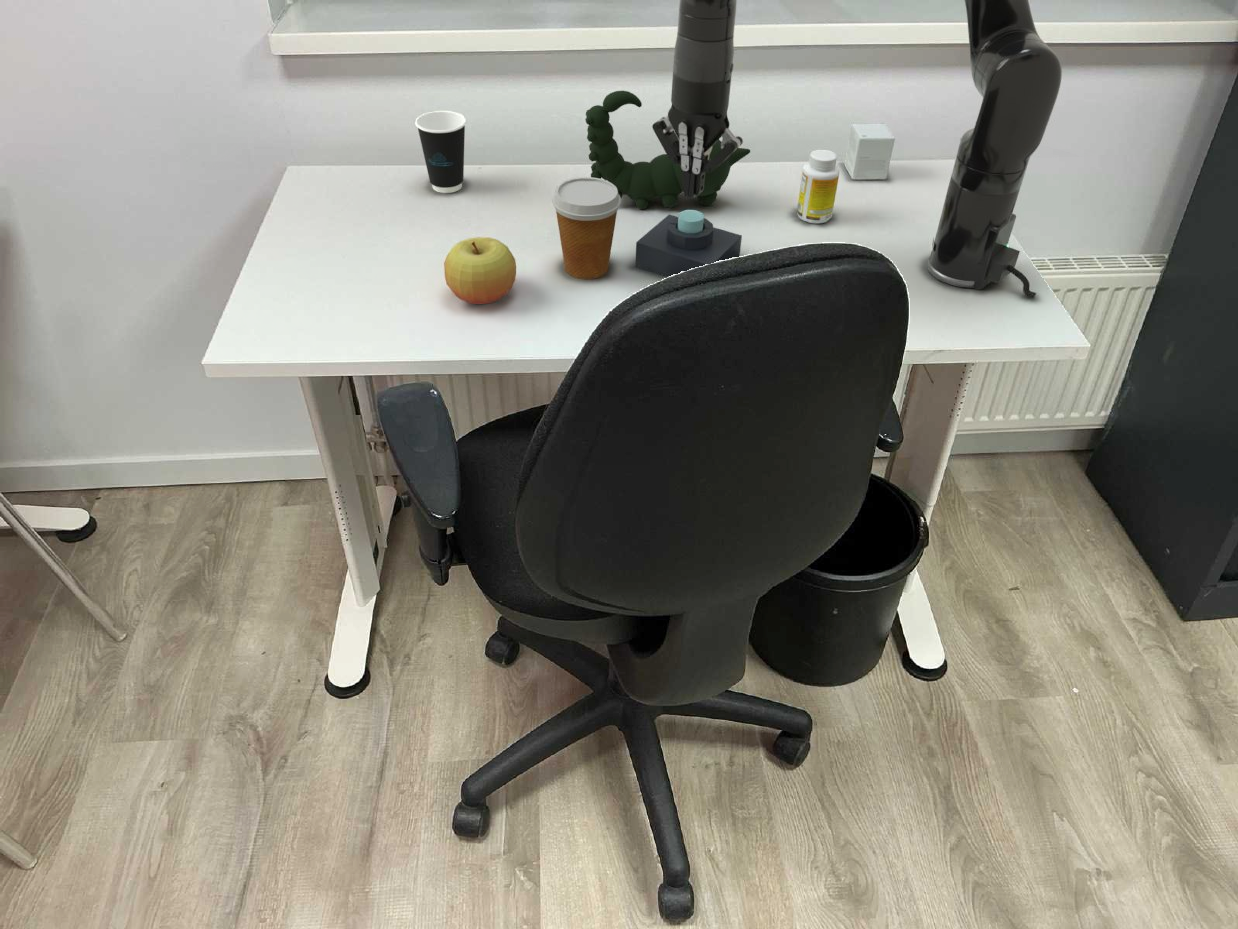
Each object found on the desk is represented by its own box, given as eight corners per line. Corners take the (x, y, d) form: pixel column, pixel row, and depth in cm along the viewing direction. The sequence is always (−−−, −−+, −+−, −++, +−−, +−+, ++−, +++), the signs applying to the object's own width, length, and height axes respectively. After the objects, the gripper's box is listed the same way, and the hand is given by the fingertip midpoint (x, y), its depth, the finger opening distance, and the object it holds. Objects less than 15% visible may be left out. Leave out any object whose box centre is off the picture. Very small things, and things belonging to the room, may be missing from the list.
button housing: (739, 259, 146) (743, 222, 142) (709, 290, 140) (712, 252, 136) (667, 238, 151) (669, 201, 147) (635, 266, 144) (636, 229, 140)
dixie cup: (432, 201, 158) (425, 134, 151) (415, 180, 163) (407, 115, 156) (479, 191, 161) (474, 125, 154) (461, 171, 166) (455, 106, 159)
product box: (887, 180, 167) (896, 138, 162) (851, 180, 167) (859, 138, 162) (878, 164, 172) (886, 122, 167) (843, 164, 171) (851, 122, 167)
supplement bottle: (838, 218, 157) (850, 156, 150) (814, 228, 154) (825, 166, 147) (812, 204, 160) (822, 143, 153) (788, 214, 157) (797, 153, 150)
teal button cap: (707, 226, 142) (708, 213, 141) (695, 237, 140) (696, 223, 138) (684, 220, 143) (685, 207, 142) (673, 230, 141) (674, 217, 140)
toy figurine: (593, 224, 157) (752, 214, 156) (582, 106, 144) (754, 94, 143) (594, 196, 164) (746, 186, 163) (584, 81, 151) (748, 70, 150)
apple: (448, 276, 141) (442, 225, 136) (516, 274, 142) (514, 223, 137) (445, 315, 134) (439, 262, 128) (518, 312, 135) (515, 260, 129)
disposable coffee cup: (561, 289, 139) (560, 210, 131) (547, 255, 146) (545, 179, 138) (627, 280, 141) (629, 203, 133) (609, 248, 148) (611, 172, 140)
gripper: (642, 67, 127) (637, 193, 138) (736, 89, 122) (723, 218, 133) (670, 50, 132) (663, 173, 143) (762, 71, 127) (746, 196, 138)
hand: (692, 194), depth 138 cm, fingers closed
